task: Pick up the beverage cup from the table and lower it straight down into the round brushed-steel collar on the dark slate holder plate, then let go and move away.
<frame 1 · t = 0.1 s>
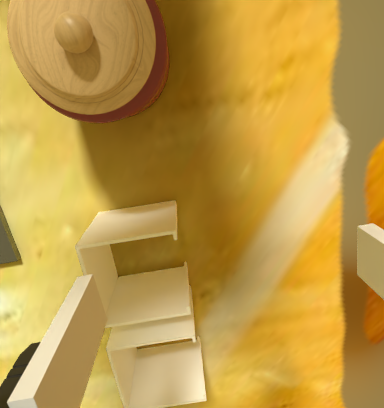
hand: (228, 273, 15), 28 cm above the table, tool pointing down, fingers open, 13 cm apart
desk organizer: (154, 280, 48), on the table
canister: (116, 62, 37), on the table
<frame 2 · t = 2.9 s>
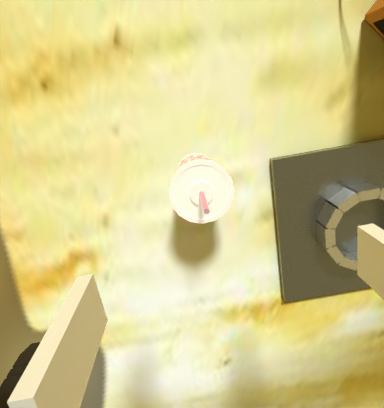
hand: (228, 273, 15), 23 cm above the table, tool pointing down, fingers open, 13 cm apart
cup holder: (352, 220, 40), on the table
beverage cup: (195, 171, 37), on the table
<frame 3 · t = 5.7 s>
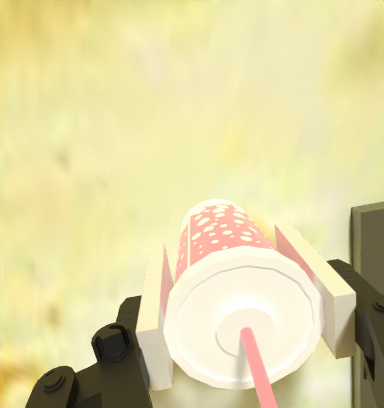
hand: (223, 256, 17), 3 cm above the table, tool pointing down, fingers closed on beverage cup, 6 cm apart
beverage cup: (215, 231, 20), on the table, touching gripper
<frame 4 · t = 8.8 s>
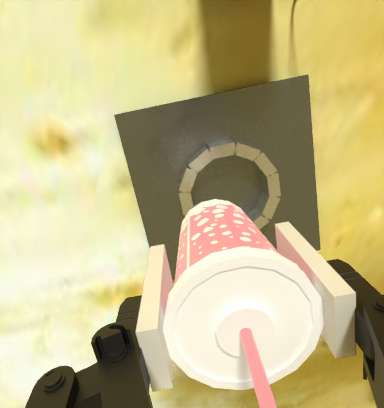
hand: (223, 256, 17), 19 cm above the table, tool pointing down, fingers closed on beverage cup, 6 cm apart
cup holder: (225, 185, 35), on the table
beverage cup: (214, 231, 20), point 15 cm above the table, touching gripper
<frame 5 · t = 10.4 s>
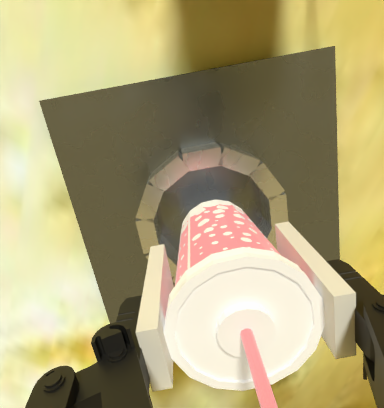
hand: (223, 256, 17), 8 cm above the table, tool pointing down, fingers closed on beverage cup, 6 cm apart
cup holder: (208, 208, 25), on the table
beverage cup: (215, 231, 20), point 5 cm above the table, touching gripper
when the fingers open (5 cm above the table, at t = 11.7 s): beverage cup stays where it is, resting on cup holder.
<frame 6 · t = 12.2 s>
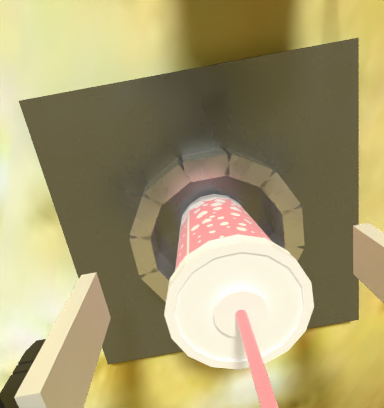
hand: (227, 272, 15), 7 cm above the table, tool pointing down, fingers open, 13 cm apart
cup holder: (212, 221, 22), on the table
beverage cup: (213, 225, 21), point 1 cm above the table, touching cup holder
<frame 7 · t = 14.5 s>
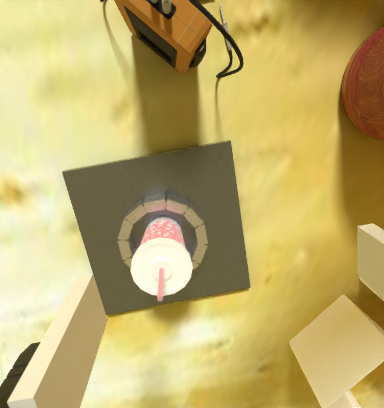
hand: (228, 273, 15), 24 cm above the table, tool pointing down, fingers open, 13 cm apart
multimeter: (183, 14, 33), on the table
desk organizer: (372, 305, 46), on the table
cup holder: (163, 231, 40), on the table
beverage cup: (163, 233, 39), point 1 cm above the table, touching cup holder
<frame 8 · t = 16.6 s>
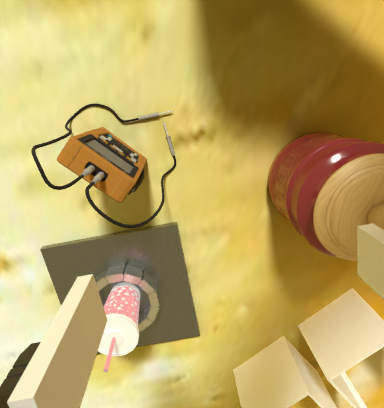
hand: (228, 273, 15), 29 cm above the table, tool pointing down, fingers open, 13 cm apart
multimeter: (135, 128, 41), on the table
desk organizer: (307, 347, 54), on the table
canister: (310, 177, 44), on the table
cup holder: (126, 291, 48), on the table
beverage cup: (125, 294, 47), point 1 cm above the table, touching cup holder
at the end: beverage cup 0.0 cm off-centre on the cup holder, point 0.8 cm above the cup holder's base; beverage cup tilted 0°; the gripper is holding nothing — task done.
